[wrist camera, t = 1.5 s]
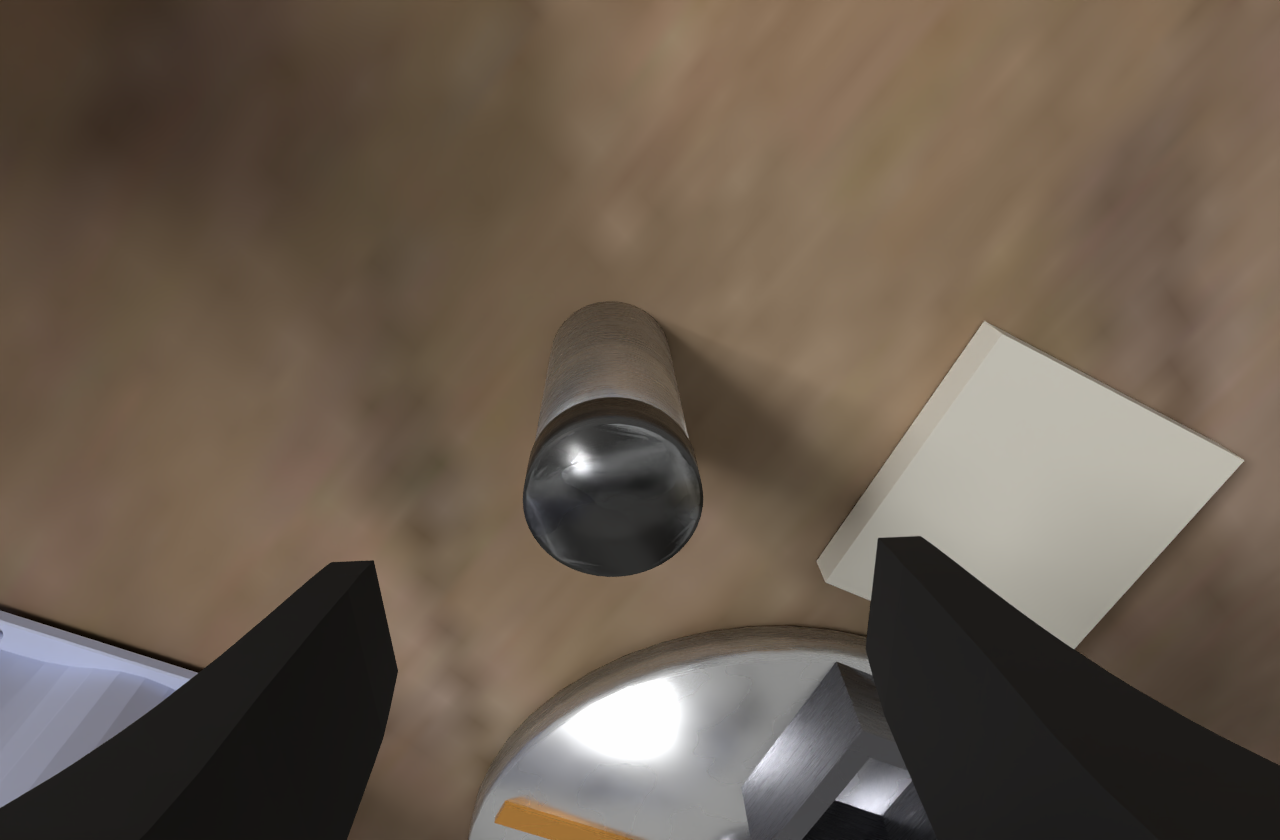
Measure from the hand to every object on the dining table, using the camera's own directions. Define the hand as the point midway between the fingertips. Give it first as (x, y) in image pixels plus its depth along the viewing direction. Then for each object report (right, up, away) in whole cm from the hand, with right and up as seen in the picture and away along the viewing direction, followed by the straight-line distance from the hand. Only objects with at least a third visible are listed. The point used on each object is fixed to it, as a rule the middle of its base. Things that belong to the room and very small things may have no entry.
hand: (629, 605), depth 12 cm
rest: (+11, 0, +11) cm, 15 cm away
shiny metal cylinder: (-1, +4, +9) cm, 10 cm away
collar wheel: (+4, -12, +16) cm, 21 cm away
